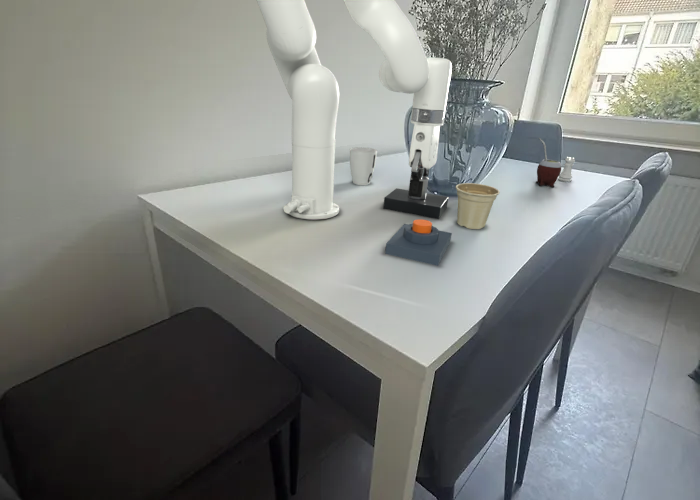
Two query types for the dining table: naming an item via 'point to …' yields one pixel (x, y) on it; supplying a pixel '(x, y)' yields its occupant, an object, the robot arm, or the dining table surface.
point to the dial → (424, 190)
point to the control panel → (416, 204)
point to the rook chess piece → (567, 170)
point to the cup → (362, 164)
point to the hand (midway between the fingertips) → (417, 193)
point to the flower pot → (474, 204)
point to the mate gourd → (548, 170)
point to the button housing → (419, 244)
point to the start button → (422, 226)
